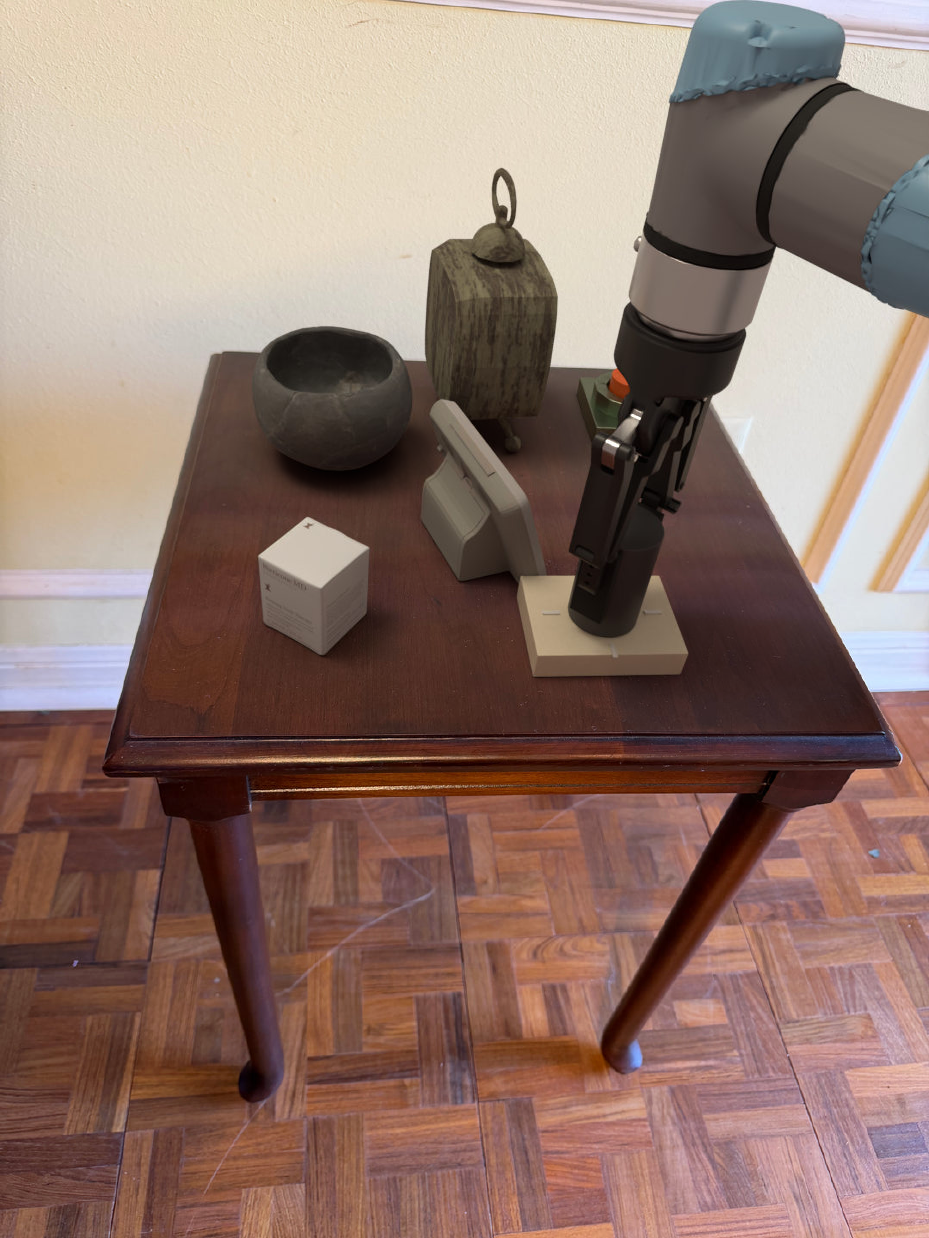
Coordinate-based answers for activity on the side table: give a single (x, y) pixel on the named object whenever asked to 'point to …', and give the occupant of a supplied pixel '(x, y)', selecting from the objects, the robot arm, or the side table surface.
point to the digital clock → (477, 505)
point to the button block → (598, 404)
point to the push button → (618, 384)
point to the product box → (314, 584)
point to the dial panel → (582, 654)
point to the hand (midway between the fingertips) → (607, 592)
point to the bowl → (332, 396)
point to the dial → (627, 577)
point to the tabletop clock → (491, 321)
